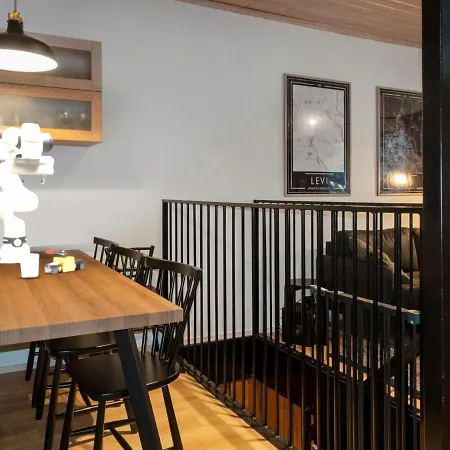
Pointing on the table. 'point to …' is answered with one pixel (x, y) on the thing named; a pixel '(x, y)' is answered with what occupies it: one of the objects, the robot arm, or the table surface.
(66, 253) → the lever
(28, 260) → the white cup
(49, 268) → the valve
